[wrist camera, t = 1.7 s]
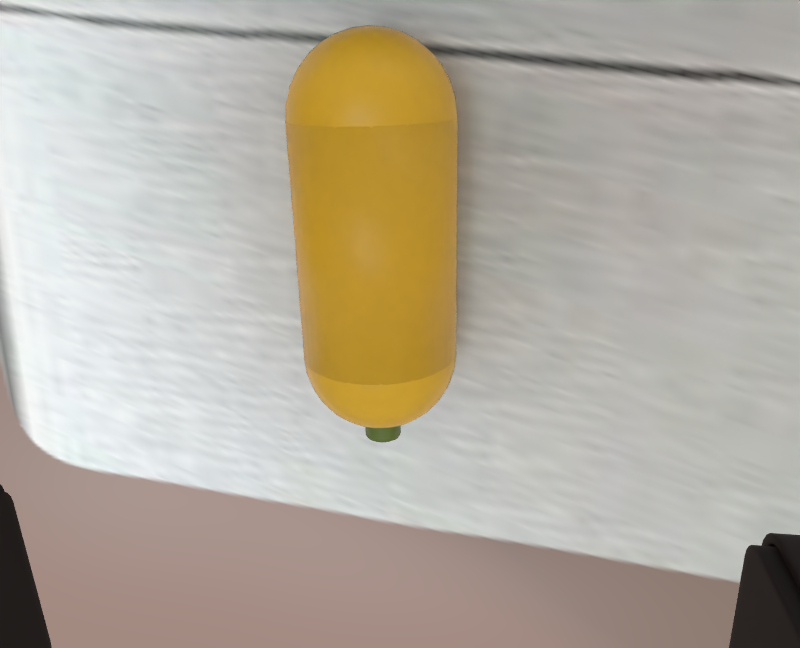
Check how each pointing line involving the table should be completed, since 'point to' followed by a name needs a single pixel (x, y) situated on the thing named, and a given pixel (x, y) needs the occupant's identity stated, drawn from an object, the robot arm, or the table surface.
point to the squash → (375, 224)
